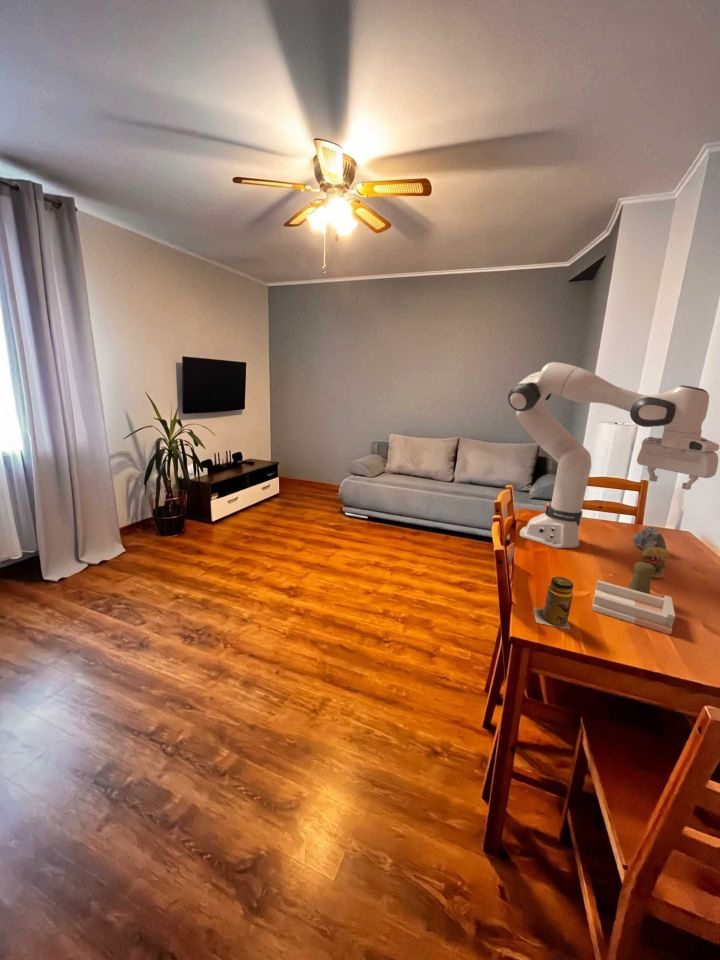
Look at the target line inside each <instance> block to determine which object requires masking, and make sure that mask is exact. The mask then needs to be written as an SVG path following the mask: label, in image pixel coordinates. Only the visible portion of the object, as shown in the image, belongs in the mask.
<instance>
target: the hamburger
mask: <svg viewBox="0 0 720 960" xmlns="http://www.w3.org/2000/svg"><path fill="white" fill-rule="evenodd" d="M653 542H654V544H656V543H658V542H655V541H653ZM669 557H671V555H670V552H669V550H667V549H666V550H665V549H663V548H660V547H649V548H646V549H644V550H643V549H642V552H641V561H640V562H645V563H648V564H651V565H652V566H653V567H654V568H655V573H654V575H653V576H651V579H661V578H663V577H664V575H665V574H664V569H665V566H666V563H665V561H667V558H669ZM664 560H665V561H664Z"/></svg>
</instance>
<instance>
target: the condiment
mask: <svg viewBox="0 0 720 960" xmlns="http://www.w3.org/2000/svg"><path fill="white" fill-rule="evenodd" d="M549 584H550V585H549V586H548V588H547V592H546V598H545V602H544V609H543V608H542V609H541V608H539V607H532V608H533V609H532V610H533V614H534V615H533V616H534V620H535V622H536V623H537V624H540V625H545V626H546V625H547V626H551V627H555V628H560V629H564V630H571V626H570V624H569V621H568V620H569V615H570V610H571V606H572V601H573V597H574V592H573V587H574V584H573V581H571V579H568V578H567V577H563V576H553V577H552V578H551V581H550V583H549Z"/></svg>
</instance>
